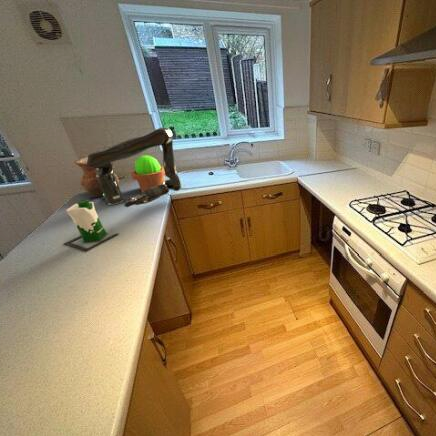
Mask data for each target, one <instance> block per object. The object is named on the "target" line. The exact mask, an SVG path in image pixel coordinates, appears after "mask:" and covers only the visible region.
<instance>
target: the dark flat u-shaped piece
mask: <svg viewBox="0 0 436 436" xmlns="http://www.w3.org/2000/svg"><path fill="white" fill-rule="evenodd" d="M118 235H119V234H118V233H114V234H112V235H110V236H108V237H107V238H104V239H102V240H100V241H98V242H97V243H95V244H93V245H91V246H89V247H87V248H86V247H84V246H81V245H78V244H75V243H73V242H75V241H77V240H79V239H82V237H81V235H80V236H77V237H75V238H73V239H70V240H69V241H67V242H64V243H63V244H64V245H66V246H68V247H71V248H74V249H77V250H80V251H83V252H88V251H90V250H92V249H94V248H95V247H97V246H99V245H101V244H103V243H105V242H107V241H109V240H110V239H113V238H115V237H117V236H118Z"/></svg>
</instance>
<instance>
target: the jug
mask: <svg viewBox="0 0 436 436" xmlns="http://www.w3.org/2000/svg"><path fill="white" fill-rule="evenodd" d="M86 157H87V156H85V157H82V158H79V159H77V160H75V162H74V163H75V164H76V165H77V166H78V167H79V168H81V170H82V172H83V175H82V176H81V179H80V186H81V188H82V189H83V190H84V191H85V192H86V193H87V194H90V195H91V196H93V197H97V196H104V195H103V192H102V189H101V187H100V184H99V182H98V180H97V178H96V173H97V168H92V167H90V166H88V165H87V163H86ZM111 163H112V166H113V169H114V170H115V165H114V163H113V162H111ZM114 176H115V178H116V181H117V183H118V185H119V184H120V180H119V179H120V178H119V176H118V175H117V174H116V173H114Z"/></svg>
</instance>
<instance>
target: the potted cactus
mask: <svg viewBox="0 0 436 436" xmlns="http://www.w3.org/2000/svg"><path fill="white" fill-rule="evenodd" d="M133 168H134V170H133V171H131V172H130V175H131V178H132V180H134V181H137V184H138V186H139V189H140V191H141V192H142V191H144V190H146V189H149V188H151V187H155V186H157V185H160V184H161V183H163V182H164V181H166V178H165V177H166V175H165V172H164V167H163V165H162V166H161V164H160V163H159V161H158V160H157V159H156V158H155V157H153V156H151V155H149V154H147V155H140V156H138V158H136V160H135V162H134V167H133Z"/></svg>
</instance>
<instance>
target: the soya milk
mask: <svg viewBox="0 0 436 436" xmlns="http://www.w3.org/2000/svg"><path fill="white" fill-rule="evenodd" d="M94 204H95V203H94V201H89V200H88V199H82V200H79V201H77V203H74V204H73V205H72V206H70V207H69V208H67V209H66V210H65V212H66V213H67V214H68V215H69V216H70V217H71V220H72V221H73V223H74V225H75V227H76V229H77V230H78V233H79V235H80V236H81V239H82V241H83V243H93V242H101V241H102V240H103V238H104V237H105V236H106V235H107V231H106V230H105V228H104V226H103V224H102V222H101V219H100V218H99V216H98V214H97V211H96V208H95V205H94Z"/></svg>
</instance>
